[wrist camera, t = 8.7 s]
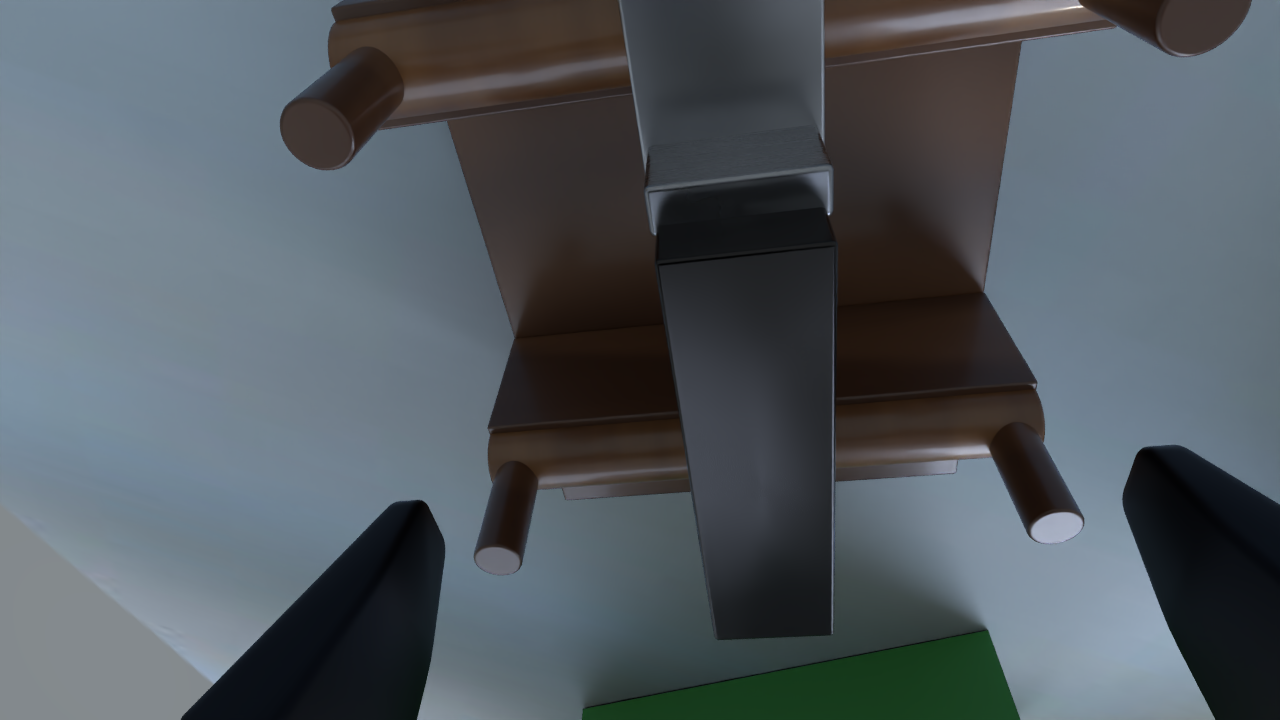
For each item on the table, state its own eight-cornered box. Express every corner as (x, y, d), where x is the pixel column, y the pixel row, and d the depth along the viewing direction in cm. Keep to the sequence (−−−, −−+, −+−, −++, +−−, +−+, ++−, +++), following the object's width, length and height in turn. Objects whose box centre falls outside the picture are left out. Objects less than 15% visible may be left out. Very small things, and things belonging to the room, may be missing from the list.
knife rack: (947, 450, 23) (1039, 681, 17) (568, 478, 25) (532, 699, 19) (1080, -515, 11) (1550, -866, 5) (321, -343, 12) (-3, -456, 7)
